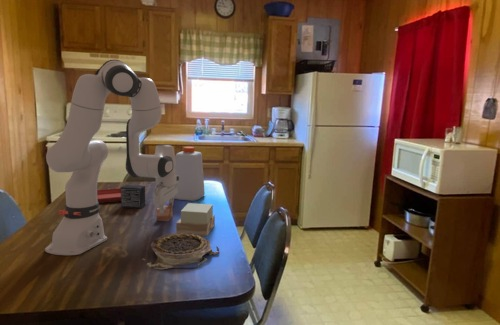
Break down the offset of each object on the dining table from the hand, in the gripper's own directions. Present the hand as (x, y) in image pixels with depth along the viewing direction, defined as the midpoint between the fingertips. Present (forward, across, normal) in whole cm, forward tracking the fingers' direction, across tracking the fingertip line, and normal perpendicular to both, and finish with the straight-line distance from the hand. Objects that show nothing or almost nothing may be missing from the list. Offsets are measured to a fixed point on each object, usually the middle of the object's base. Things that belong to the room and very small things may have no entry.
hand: (166, 209), depth 165 cm
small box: (+5, +14, +24) cm, 28 cm away
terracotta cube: (+5, +1, +2) cm, 5 cm away
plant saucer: (+5, +23, +42) cm, 48 cm away
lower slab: (+6, -8, -16) cm, 19 cm away
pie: (+6, -30, -19) cm, 36 cm away
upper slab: (0, -7, -17) cm, 19 cm away
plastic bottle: (+5, +37, +3) cm, 37 cm away
